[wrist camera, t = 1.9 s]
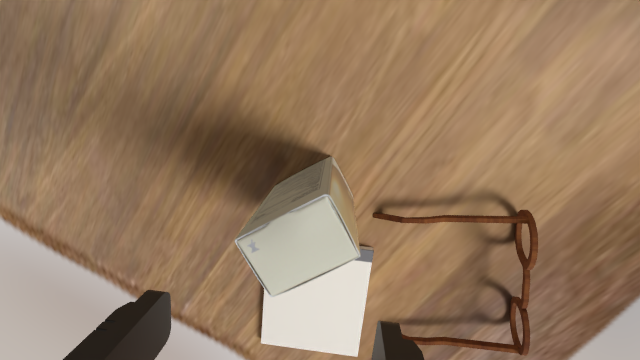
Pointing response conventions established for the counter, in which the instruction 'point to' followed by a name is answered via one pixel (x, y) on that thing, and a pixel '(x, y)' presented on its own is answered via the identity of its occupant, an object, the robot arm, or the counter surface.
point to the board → (321, 310)
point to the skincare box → (302, 229)
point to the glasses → (522, 303)
